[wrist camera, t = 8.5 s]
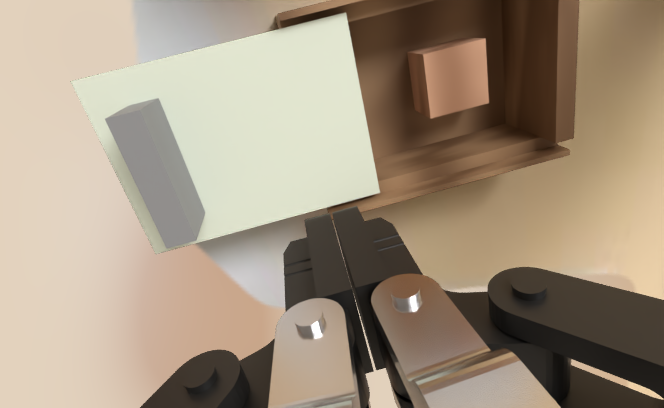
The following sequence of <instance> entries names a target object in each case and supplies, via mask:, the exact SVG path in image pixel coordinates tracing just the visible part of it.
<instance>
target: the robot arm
mask: <svg viewBox="0 0 664 408" xmlns="http://www.w3.org/2000/svg"><path fill="white" fill-rule="evenodd" d="M332 215H333V219H334V223H335V227H336V231H337V235H338V238H339V242H340V246H341V250H342V253H341V250H340V246H339V243H338V240H337V236H336V233H335V229H334V226H333V223H332V219H331V216H330V213H329V214H325V215H321V216H318V217H314V218H310V219H306V220H305V226H306V232H307V238H303V239H299V240H296V241H292V242H290V244H289V245H288V247H287V249H286V250H285V252H284V276H285V278H284V279H285V305H286V312H285V313H284V314H283V316H282V317H281V318H280V320H279V321H278V324H277V326H276V334H275V339H273V341H271V342H270V343H269V344H268V345H267V346H265V347H264V348H262V349H260V350H259V351H257V352H255V353H253V354H251V355H250V356H248V357H246V358H244V359H242V360H241V361H239V360H238V358H237V357H236V355H234V354H233V353H232V352H229V351H226V350H212V351H208V352H205V353H202V354H200V355H198V356H196V357H194V358H192V359H190V360H189V361H187V362H186V363H185V364H183V365H182V366H181V367H180V368H179V369H178V370H177V371H176V372H175V373H174V374H173V375H172V376H171V377H170V378H169V379H168V380H167V381H166V382H165V383H164V384H163V385H162V386H161V387H160V388H159V389H158V390H157V391H156V392H155V393H154V394H153V395H152V396H151V397H150V398H149V399H148V400H147V401H146V402H145V403H144V404H143V405H142V406H141V407H140V408H371V406H370V402H369V396H370V392H369V387H368V383H367V379H366V375H365V374H366V373H369V372H373V367H372V363H371V359H370V356H369V352H368V348H367V344H366V341H365V337H364V333H363V329H362V325H361V321H360V318H359V314H358V310H359V313H360V316H361V320H362V323H363V327H364V330H365V333H366V336H367V340H368V343H369V347H370V350H371V354H372V357H373V360H374V363H375V367H376V370H379V369H383V368H386V370H387V373H388V376H389V379H390V383H391V387H392V391H393V395H394V399H395V402H396V404H397V407H398V408H664V400H661V399H657V398H653V397H650V396H648V395H645V394H643V393H640V392H638V391H635V390H633V389H630V388H628V387H625V386H623V385H620V384H617V383H615V382H612V381H610V380H607V379H605V378H602V377H600V376H597V375H595V374H592V373H590V372H587V371H585V370H582V369H579V368H577V367H574V366H572V365H571V359H573V360H576V361H578V362H581V363H584V364H586V365H589V366H591V367H594V368H597V369H599V370H602V371H604V372H607V373H610V374H613V375H615V376H618V377H620V378H623V379H625V380H628V381H630V382H633V383H636V384H638V385H641V386H643V387H646V388H648V389H650V390H652V391H654V392H655V393H657V394H658V395H660V396H661V397H662V398H664V300H661V299H657V298H653V297H649V296H646V295H642V294H638V293H634V292H630V291H626V290H622V289H618V288H614V287H610V286H606V285H602V284H598V283H594V282H591V281H587V280H582V279H579V278H575V277H571V276H567V275H563V274H559V273H555V272H551V271H547V270H543V269H539V268H531V267H519V268H512V269H508V270H505V271H502V272H500V273H498V274H497V275H495V276H494V277H493V278H492V279H491V280H490V282H489V284H488V292H473V293H457V292H450V291H445V290H443V289H442V288H441V287H440V286H439V284H438V283H437V282H436V281H434V280H433V279H431V278H429V277H427V276H424V275H423V274H422V273H421V271H420V269H419V268H418V266H417V264H416V263H415V261H414V259H413V258H412V256H411V254H410V253H409V251H408V249H407V248H406V246H405V245H404V243H403V241H402V239H401V237H400V236H399V234H398V232H397V231H396V229H395V227H394V226H393V224H391V223H390V222H388V221H386V220H384V219H382V218H376V219H372V220H369V221H365V222H364V220H363V218H362V215H361V213H360V211H359V209H358V207H357V206H354V207H350V208H347V209H343V210H339V211H336V212H332ZM342 254H343V257H344V260H343V257H342ZM344 261H345V263H344ZM345 265H346V267H345ZM346 269H347V270H346ZM347 272H348V273H347ZM348 276H349V277H348ZM349 279H350V280H349ZM350 283H351V284H350ZM351 286H352V287H351ZM352 290H353V291H352ZM353 293H354V294H353ZM354 296H355V298H354ZM355 300H356V302H355ZM356 303H357V306H358V310H357V306H356Z"/></svg>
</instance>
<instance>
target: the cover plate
mask: <svg viewBox="0 0 664 408" xmlns="http://www.w3.org/2000/svg"><path fill="white" fill-rule="evenodd" d="M71 84H72V86H73V88H74V90H75V92H76V94H77V96H78V98H79V100H80V102H81V104H82V106H83V108H84V110H85V112H86V114H87V116H88V118H89V120H90V122H91V124H92V126H93V128H94V130H95V132H96V134H97V136H98V138H99V140H100V142H101V144H102V146H103V148H104V150H105V152H106V154H107V156H108V159H109V160H110V162H111V165H112V167H113V168H114V171H115V173H116V175H117V177H118V179H119V181H120V183H121V185H122V187H123V188H124V191H125V193H126V195H127V197H128V199H129V201H130V203H131V205H132V207H133V208H134V211H135V213H136V215H137V217H138V219H139V221H140V223H141V225H142V227H143V229H144V231H145V233H146V235H147V237H148V239H149V241H150V243H151V245H152V247H153V249H154V251H155V254H159V253H162V252H166V251H170V250H173V249H177V248H180V247H184V246H188V245H191V244H195V243H199V242H202V241H206V240H210V239H213V238H217V237H221V236H224V235H228V234H232V233H235V232H239V231H243V230H246V229H250V228H253V227H257V226H261V225H264V224H268V223H272V222H275V221H279V220H283V219H286V218H290V217H294V216H297V215H301V214H305V213H308V212H312V211H315V210H319V209H323V208H326V207H330V206H334V205H337V204H341V203H345V202H348V201H352V200H356V199H359V198H363V197H367V196H370V195H374V194H377V193H380V190H379V184H378V179H377V174H376V169H375V163H374V158H373V153H372V147H371V142H370V137H369V132H368V126H367V121H366V116H365V110H364V105H363V100H362V95H361V89H360V84H359V79H358V73H357V68H356V63H355V58H354V52H353V47H352V42H351V36H350V31H349V26H348V21H347V15H346V12H345V13H341V14H337V15H333V16H329V17H325V18H321V19H317V20H313V21H309V22H305V23H301V24H297V25H293V26H289V27H285V28H281V29H277V30H273V31H269V32H265V33H261V34H257V35H253V36H249V37H245V38H241V39H237V40H233V41H229V42H225V43H221V44H217V45H213V46H209V47H205V48H201V49H197V50H193V51H189V52H185V53H181V54H178V55H174V56H170V57H166V58H162V59H158V60H154V61H150V62H146V63H142V64H138V65H134V66H130V67H126V68H122V69H118V70H114V71H110V72H106V73H102V74H98V75H94V76H90V77H86V78H82V79H78V80H74V81H71Z"/></svg>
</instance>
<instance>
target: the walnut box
mask: <svg viewBox="0 0 664 408" xmlns="http://www.w3.org/2000/svg"><path fill="white" fill-rule="evenodd" d="M345 12H346V15H347V21H348V26H349V31H350V36H351V42H352V47H353V52H354V58H355V63H356V68H357V73H358V79H359V84H360V89H361V95H362V100H363V105H364V110H365V116H366V121H367V126H368V132H369V137H370V142H371V147H372V153H373V158H374V163H375V169H376V174H377V179H378V184H379V190H380V193H377V194H374V195H370V196H367V197H363V198H359V199H356V200H352V201H348V202H345V203H341V204H337V205H334V206H330V207H327V210H328V213H330V216H331V219H332V220H334V219H333V215H332V212H336V211H339V210H343V209H347V208H350V207H354V206H357V207H358V209H359V211H360V212H364V211H368V210H371V209H375V208H378V207H382V206H386V205H389V204H393V203H397V202H400V201H404V200H407V199H411V198H415V197H418V196H422V195H426V194H429V193H433V192H436V191H440V190H444V189H447V188H451V187H455V186H458V185H462V184H465V183H469V182H473V181H476V180H480V179H484V178H487V177H491V176H494V175H498V174H502V173H505V172H509V171H513V170H516V169H520V168H523V167H527V166H531V165H534V164H538V163H542V162H545V161H549V160H552V159H556V158H560V157H563V156H567V155H570V150H569V149H567V148H564V147H562V146H559V145H557V143H558V142H562V141H566V140H569V139H573V138H574V117H575V92H576V68H577V43H578V18H579V0H330V1H326V2H322V3H318V4H314V5H310V6H306V7H302V8H298V9H294V10H290V11H286V12H282V13H278V14H277V15H276V17H275V18H276V22H277V26H278V29H281V28H285V27H289V26H293V25H297V24H301V23H305V22H309V21H313V20H317V19H321V18H325V17H329V16H333V15H337V14H341V13H345Z"/></svg>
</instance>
